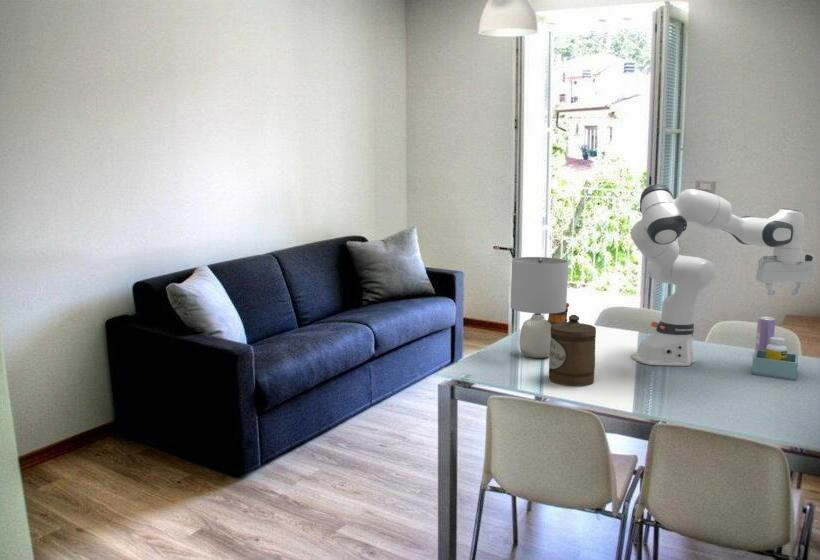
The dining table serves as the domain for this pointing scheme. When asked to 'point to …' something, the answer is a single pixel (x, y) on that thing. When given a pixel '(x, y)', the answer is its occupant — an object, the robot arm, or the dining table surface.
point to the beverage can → (764, 332)
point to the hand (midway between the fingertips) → (783, 295)
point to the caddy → (775, 366)
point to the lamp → (538, 299)
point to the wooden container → (572, 353)
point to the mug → (558, 316)
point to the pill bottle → (776, 349)
